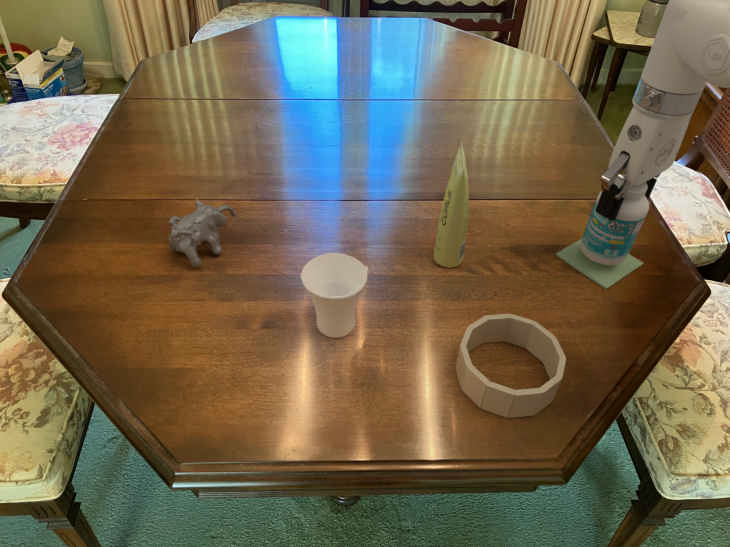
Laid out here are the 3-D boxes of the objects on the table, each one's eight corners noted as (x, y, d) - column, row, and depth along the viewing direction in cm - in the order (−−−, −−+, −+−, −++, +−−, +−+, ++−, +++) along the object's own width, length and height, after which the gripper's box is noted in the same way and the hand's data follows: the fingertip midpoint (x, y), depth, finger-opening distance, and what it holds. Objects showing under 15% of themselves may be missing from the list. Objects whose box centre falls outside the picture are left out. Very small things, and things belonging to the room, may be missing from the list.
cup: (374, 340, 78) (376, 290, 71) (309, 350, 76) (305, 300, 70) (361, 296, 84) (362, 246, 77) (301, 305, 83) (296, 255, 76)
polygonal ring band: (575, 383, 73) (586, 360, 70) (508, 435, 67) (516, 413, 64) (502, 324, 80) (509, 300, 77) (436, 366, 75) (440, 342, 71)
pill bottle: (570, 252, 90) (595, 182, 81) (591, 232, 94) (617, 163, 85) (614, 274, 86) (645, 203, 77) (634, 252, 90) (665, 182, 81)
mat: (642, 264, 91) (643, 262, 90) (605, 289, 86) (606, 287, 86) (592, 233, 96) (592, 231, 96) (555, 255, 92) (555, 253, 92)
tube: (424, 254, 92) (436, 151, 78) (446, 243, 94) (461, 140, 80) (447, 273, 88) (464, 168, 75) (470, 260, 91) (490, 157, 77)
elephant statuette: (161, 260, 90) (149, 223, 84) (203, 219, 98) (195, 182, 92) (209, 275, 87) (200, 238, 82) (249, 232, 95) (243, 195, 90)
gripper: (654, 125, 65) (607, 240, 78) (728, 89, 73) (675, 198, 85) (601, 102, 70) (564, 214, 82) (676, 70, 78) (633, 176, 90)
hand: (621, 205), depth 83 cm, fingers closed on pill bottle, 7 cm apart
